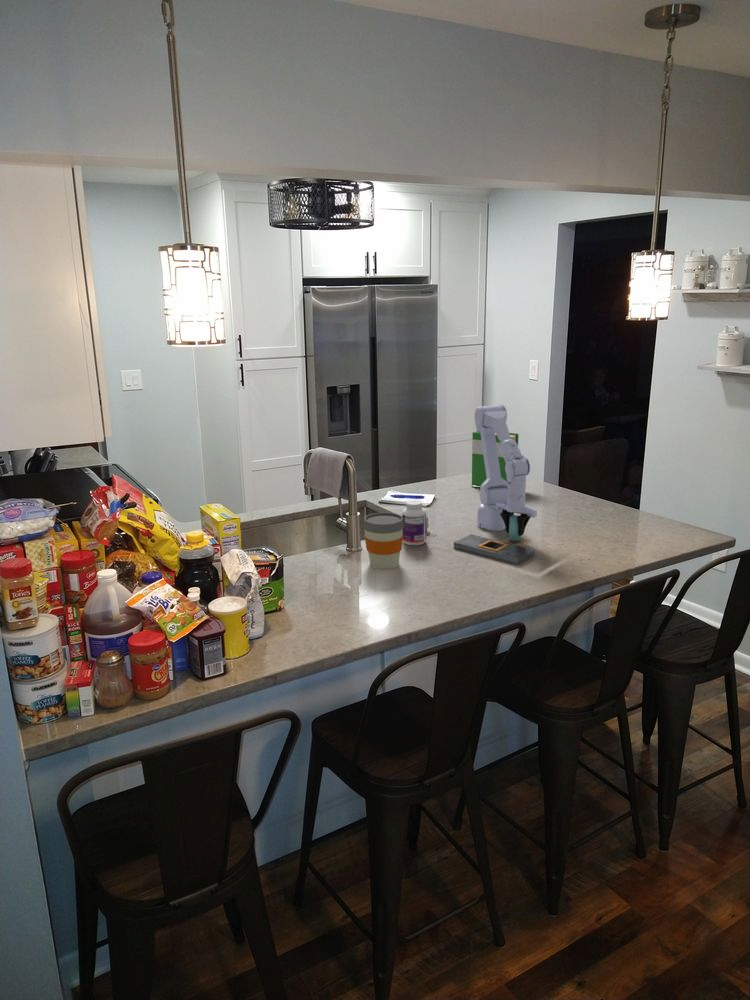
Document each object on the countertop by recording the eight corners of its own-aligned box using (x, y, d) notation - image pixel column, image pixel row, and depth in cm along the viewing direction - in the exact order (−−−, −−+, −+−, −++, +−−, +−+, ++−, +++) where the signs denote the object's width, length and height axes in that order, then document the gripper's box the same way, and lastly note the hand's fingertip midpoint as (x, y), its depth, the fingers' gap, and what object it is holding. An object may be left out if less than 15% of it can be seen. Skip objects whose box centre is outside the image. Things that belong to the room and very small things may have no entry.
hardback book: (516, 489, 303) (518, 433, 296) (508, 493, 297) (510, 436, 291) (480, 483, 313) (481, 429, 307) (471, 487, 308) (472, 432, 301)
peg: (506, 539, 237) (507, 516, 235) (512, 536, 240) (513, 514, 238) (516, 542, 235) (517, 519, 233) (523, 539, 238) (524, 516, 235)
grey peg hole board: (453, 550, 233) (453, 541, 232) (471, 542, 240) (471, 533, 239) (517, 568, 217) (517, 557, 217) (534, 558, 225) (534, 549, 224)
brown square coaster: (497, 544, 238) (498, 541, 237) (510, 538, 243) (510, 535, 243) (518, 549, 233) (518, 547, 232) (531, 543, 238) (531, 540, 238)
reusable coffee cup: (370, 573, 216) (369, 526, 212) (360, 559, 228) (358, 514, 223) (409, 568, 219) (409, 522, 215) (397, 554, 231) (397, 510, 226)
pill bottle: (409, 537, 247) (409, 497, 243) (430, 541, 243) (430, 500, 239) (398, 544, 240) (397, 503, 236) (419, 548, 236) (419, 506, 232)
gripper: (490, 493, 235) (489, 532, 239) (529, 501, 226) (527, 541, 229) (502, 488, 240) (501, 526, 244) (540, 496, 231) (539, 535, 234)
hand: (514, 533), depth 237 cm, fingers closed on peg, 4 cm apart
